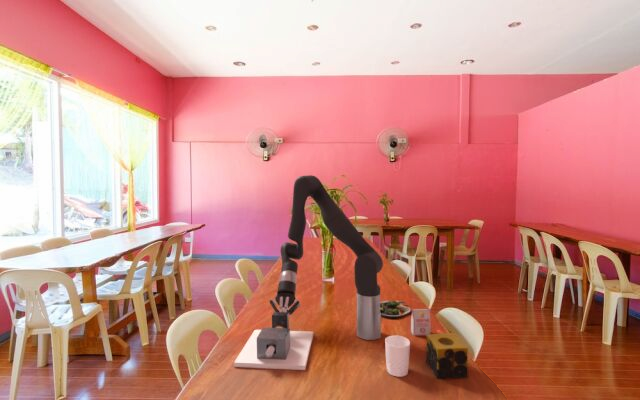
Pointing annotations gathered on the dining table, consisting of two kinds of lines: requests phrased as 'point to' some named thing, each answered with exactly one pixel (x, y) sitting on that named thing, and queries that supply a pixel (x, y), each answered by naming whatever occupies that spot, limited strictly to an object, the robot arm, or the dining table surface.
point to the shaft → (278, 322)
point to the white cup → (397, 355)
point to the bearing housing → (273, 342)
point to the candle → (447, 356)
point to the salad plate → (393, 309)
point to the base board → (294, 360)
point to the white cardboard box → (420, 322)
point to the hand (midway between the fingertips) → (281, 324)
